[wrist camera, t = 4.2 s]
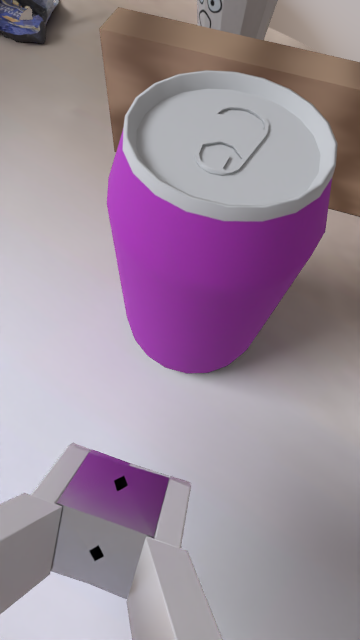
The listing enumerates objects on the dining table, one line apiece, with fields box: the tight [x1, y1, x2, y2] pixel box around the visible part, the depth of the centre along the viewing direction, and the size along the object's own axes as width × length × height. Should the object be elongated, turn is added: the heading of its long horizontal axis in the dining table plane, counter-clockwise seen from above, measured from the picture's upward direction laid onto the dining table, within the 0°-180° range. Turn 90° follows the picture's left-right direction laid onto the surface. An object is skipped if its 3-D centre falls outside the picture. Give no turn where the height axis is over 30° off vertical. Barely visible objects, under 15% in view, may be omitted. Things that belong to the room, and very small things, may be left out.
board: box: [99, 7, 360, 216], centre depth 23 cm, size 20×3×8 cm, turn 73°
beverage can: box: [107, 70, 337, 373], centre depth 15 cm, size 8×8×12 cm
